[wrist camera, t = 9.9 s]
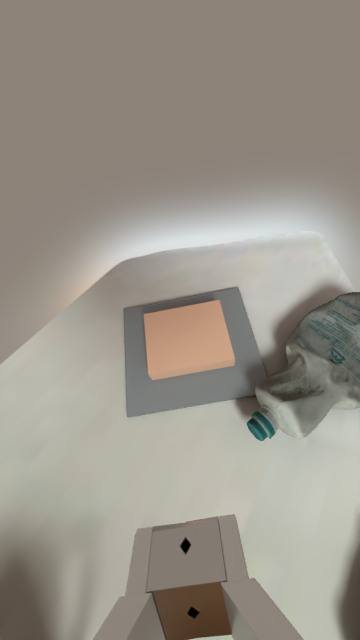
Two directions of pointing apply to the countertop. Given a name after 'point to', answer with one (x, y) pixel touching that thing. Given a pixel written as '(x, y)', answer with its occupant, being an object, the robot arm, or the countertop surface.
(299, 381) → the detergent
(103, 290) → the countertop surface
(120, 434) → the countertop surface
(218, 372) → the mat
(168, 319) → the tile
